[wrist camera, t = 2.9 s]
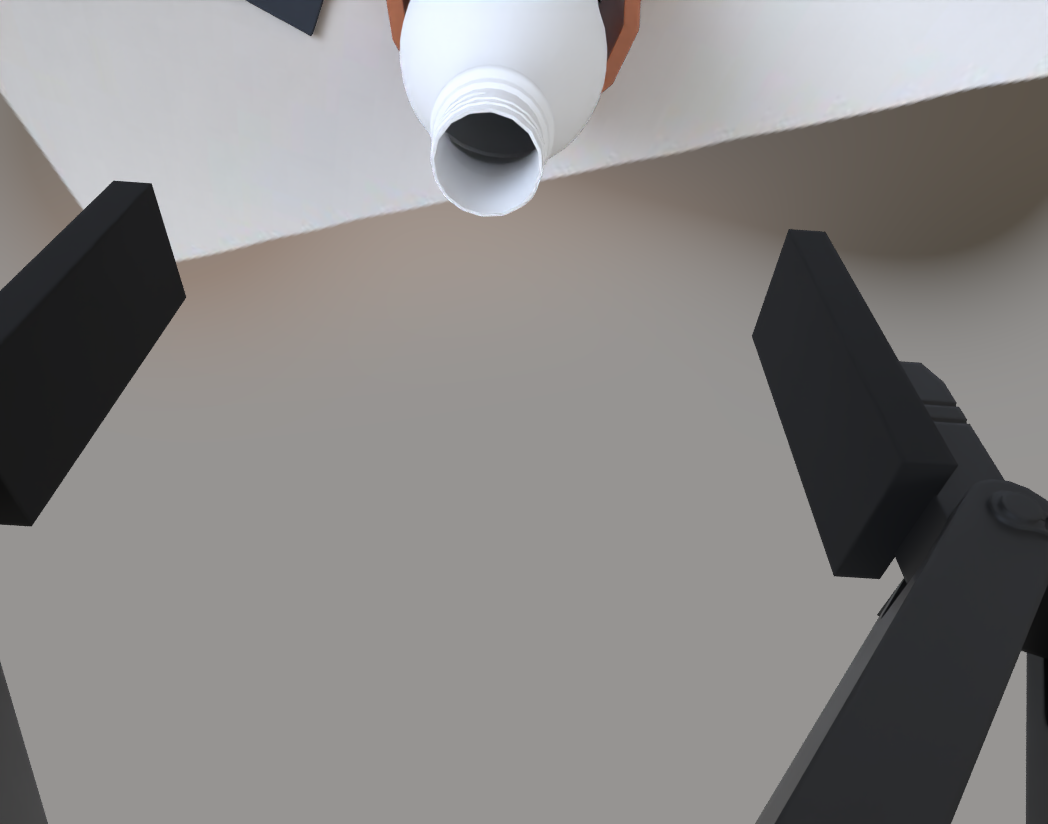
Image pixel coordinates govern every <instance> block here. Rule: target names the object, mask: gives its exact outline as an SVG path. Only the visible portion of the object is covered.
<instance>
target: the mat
mask: <svg viewBox="0 0 1048 824" xmlns="http://www.w3.org/2000/svg"><path fill="white" fill-rule="evenodd" d="M246 1H248V2H250V3H251V4H253V5H255V6H257V7H259V8H261V9H262V10H264V11H266V12H268V13H270V14H272V15H273V16H275V17H277V18H279V19H281V20H283V21H284V22H286V23H288V24H290V25H292V26H294V27H295V28H297V29H299V30H301V31H303V32H305V33H306V34H308V35H310V36H312V34H313V32H314V29H315V26H316V23H317V19H318V16H319V13H320V10H321V7H322V3H323V0H246Z"/></svg>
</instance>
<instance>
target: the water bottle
mask: <svg viewBox="0 0 1048 824" xmlns="http://www.w3.org/2000/svg"><path fill="white" fill-rule="evenodd" d="M400 65H401V72H402V79H403V84H404V87H405V90H406V93H407V97H408V100H409V102H410V104H411V106H412V108H413V110H414V112H415V114H416V116H417V118H418V120H419V121H420V122H421V124H422V125H423V127H424V128H425V129H426V131H427V132H428V133H429V135H430V136H431V141H432V143H431V157H430V163H431V167H432V170H433V175H434V180H435V182H436V183H437V185H438V186H439V188H440V190H441V191H442V193H443V194H444V196H445V198H447V199H448V200H449V201H451V202H452V203H453V204H455V205H456V206H457V207H458V208H460V209H461V210H462V211H466V212H469V213H472V214H475V215H479V216H482V217H487V216H503V215H505V214H508V213H511V212H513V211H514V210H516V209H519V208H521V207H523V206H524V205H525V204H527V203H528V202H529V201H530V200H531V199H532V198H533V196H534V194H535V192H536V190H537V187H538V184H539V182H540V180H541V177H542V173H543V169H544V165H545V164H546V162H547V160H548V159H550V158H551V157H553V156H554V155H556V154H557V153H559V152H560V151H562V150H563V149H565V148H566V147H567V146H568V145H569V144H570V143H571V142H572V141H573V140H574V139H575V138H576V137H577V136H578V135H579V133H580V132H581V131H582V129H583V128H584V127H585V125H586V124H587V123H588V121H589V119H590V117H591V115H592V113H593V111H594V109H595V107H596V105H597V103H598V101H599V98H600V95H601V92H602V88H603V85H604V80H605V74H606V65H607V42H606V34H605V27H604V24H603V21H602V17H601V14H600V11H599V7H598V0H410V2H409V5H408V8H407V11H406V15H405V18H404V21H403V26H402V32H401V37H400Z"/></svg>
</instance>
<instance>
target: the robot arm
mask: <svg viewBox="0 0 1048 824" xmlns="http://www.w3.org/2000/svg"><path fill="white" fill-rule="evenodd" d="M185 298H186V295H185V292H184V288H183V285H182V282H181V279H180V275H179V272H178V269H177V265H176V262H175V259H174V255H173V252H172V249H171V246H170V242H169V239H168V236H167V233H166V229H165V226H164V223H163V219H162V216H161V213H160V210H159V206H158V203H157V200H156V196H155V193H154V190H153V187H152V184H151V183H137V182H123V181H113V182H112V183H111V184H110V185H109V186H108V187H107V188H106V189H105V190H104V191H103V192H102V193H101V194H100V195H99V196H97V197H96V198H95V199H94V200H93V201H92V202H91V203H90V204H89V205H88V206H87V207H86V208H85V209H84V210H83V211H82V212H81V213H80V214H79V215H78V216H77V217H76V218H75V219H74V220H73V221H72V222H71V223H70V224H69V225H68V226H67V227H66V228H65V229H64V230H62V232H60V233H59V234H58V235H57V236H56V237H55V238H54V239H53V240H52V241H51V242H50V243H49V244H48V245H47V246H46V247H45V248H44V249H43V250H42V251H41V252H40V253H39V254H38V255H37V256H36V257H35V258H34V259H33V260H32V261H31V262H29V263H28V264H27V265H26V266H25V267H24V268H23V269H22V270H21V271H20V272H19V273H18V274H17V275H16V276H15V277H14V278H13V279H12V280H11V281H10V282H9V283H8V284H7V285H6V286H5V287H4V288H3V289H2V290H1V291H0V524H2V525H17V526H18V525H19V526H32V525H33V523H34V522H35V520H36V519H37V517H38V516H39V515H40V513H41V512H42V510H43V509H44V507H45V506H46V504H47V503H48V501H49V500H50V498H51V497H52V495H53V494H54V492H55V491H56V489H57V488H58V487H59V485H60V484H61V482H62V481H63V479H64V477H65V476H66V475H67V473H68V472H69V470H70V469H71V467H72V466H73V464H74V463H75V461H76V460H77V458H78V457H79V455H80V454H81V452H82V451H83V450H84V448H85V447H86V445H87V444H88V442H89V441H90V439H91V438H92V436H93V435H94V433H95V432H96V430H97V429H98V427H99V426H100V424H101V423H102V421H103V420H104V418H105V417H106V415H107V414H108V413H109V411H110V409H111V408H112V406H113V405H114V404H115V402H116V401H117V399H118V398H119V396H120V395H121V393H122V392H123V390H124V389H125V387H126V386H127V384H128V383H129V381H130V380H131V378H132V377H133V375H134V374H135V373H136V371H137V370H138V368H139V367H140V365H141V364H142V362H143V361H144V359H145V358H146V356H147V355H148V353H149V352H150V350H151V349H152V347H153V346H154V344H155V343H156V341H157V340H158V338H159V337H160V336H161V334H162V332H163V331H164V330H165V328H166V327H167V325H168V324H169V322H170V321H171V319H172V318H173V316H174V315H175V313H176V311H177V310H178V309H179V307H180V306H181V304H182V303H183V301H184V300H185ZM752 338H753V341H754V344H755V346H756V349H757V352H758V355H759V358H760V361H761V364H762V367H763V370H764V373H765V376H766V379H767V381H768V384H769V387H770V390H771V393H772V396H773V399H774V402H775V405H776V408H777V411H778V414H779V417H780V420H781V423H782V425H783V428H784V431H785V434H786V437H787V440H788V443H789V446H790V449H791V451H792V454H793V458H794V461H795V464H796V466H797V469H798V472H799V475H800V478H801V481H802V484H803V487H804V489H805V493H806V496H807V498H808V501H809V504H810V507H811V510H812V513H813V516H814V519H815V522H816V525H817V528H818V531H819V534H820V537H821V539H822V542H823V545H824V548H825V551H826V554H827V557H828V560H829V563H830V566H831V569H832V572H833V575H834V576H840V577H855V578H856V577H857V578H872V579H880V578H881V576H882V575H883V574H884V572H885V571H886V569H887V568H888V566H889V565H890V563H891V562H892V561H893V559H894V558H895V557H896V560H897V562H898V564H899V567H900V569H901V571H902V574H903V576H904V579H903V580H902V582H901V583H900V584H899V586H898V587H897V588H896V590H895V591H894V592H893V594H892V595H891V597H890V598H889V599H888V601H887V602H886V604H885V605H884V606H883V608H882V609H881V610H880V612H879V613H878V614H877V615H878V616H879V618H878V620H877V622H876V623H875V625H874V626H873V628H872V630H871V631H870V633H869V635H868V637H867V638H866V640H865V641H864V643H863V645H862V647H861V648H860V650H859V651H858V653H857V655H856V656H855V658H854V660H853V662H852V663H851V665H850V667H849V668H848V670H847V671H846V673H845V675H844V677H843V678H842V680H841V682H840V683H839V685H838V686H837V688H836V690H835V692H834V693H833V695H832V697H831V698H830V700H829V702H828V703H827V705H826V707H825V708H824V710H823V712H822V713H821V715H820V717H819V718H818V720H817V722H816V723H815V725H814V726H813V728H812V730H811V731H810V733H809V735H808V736H807V738H806V740H805V742H804V743H803V745H802V747H801V748H800V750H799V752H798V753H797V755H796V756H795V758H794V760H793V762H792V763H791V765H790V767H789V768H788V770H787V771H786V773H785V775H784V776H783V778H782V780H781V782H780V783H779V785H778V787H777V788H776V790H775V791H774V793H773V795H772V796H771V798H770V800H769V801H768V803H767V805H766V806H765V808H764V810H763V812H762V813H761V815H760V816H759V818H758V820H757V822H756V823H755V824H951V822H952V820H953V817H954V815H955V812H956V810H957V807H958V805H959V802H960V800H961V797H962V795H963V792H964V790H965V787H966V785H967V783H968V780H969V778H970V775H971V772H972V770H973V768H974V765H975V763H976V760H977V758H978V755H979V753H980V750H981V748H982V746H983V743H984V741H985V738H986V736H987V733H988V730H989V728H990V726H991V723H992V721H993V718H994V716H995V713H996V711H997V708H998V706H999V704H1000V701H1001V699H1002V696H1003V694H1004V691H1005V689H1006V686H1007V684H1008V681H1009V679H1010V676H1011V674H1012V671H1013V669H1014V666H1015V663H1016V662H1017V659H1018V657H1019V654H1020V652H1021V651H1024V652H1027V722H1026V724H1027V725H1026V731H1027V732H1026V734H1027V735H1026V737H1027V738H1026V741H1027V742H1026V824H1048V501H1047V500H1046V499H1044V498H1042V497H1041V496H1039V495H1038V494H1036V493H1034V492H1033V491H1031V490H1030V489H1028V488H1026V487H1023V486H1020V485H1018V484H1015V483H1013V482H1009V481H1005V480H1004V479H1003V477H1002V475H1001V474H1000V472H999V470H998V469H997V467H996V466H995V464H994V462H993V461H992V459H991V458H990V456H989V454H988V453H987V451H986V449H985V448H984V446H983V445H982V443H981V442H980V440H979V438H978V437H977V435H976V434H975V432H974V430H973V429H972V427H971V426H970V424H967V423H966V421H967V419H966V418H965V416H964V414H963V413H962V411H961V409H960V408H959V407H956V401H955V400H954V398H953V397H952V395H951V393H950V392H949V390H948V389H947V387H946V385H945V384H944V382H943V381H942V380H941V379H939V378H938V377H937V376H936V375H934V374H933V373H932V372H931V371H930V370H929V369H928V368H926V367H925V366H924V365H923V364H922V363H915V362H901V361H899V360H898V359H897V357H896V355H895V353H894V352H893V350H892V348H891V346H890V345H889V343H888V341H887V339H886V338H885V336H884V334H883V332H882V330H881V329H880V327H879V325H878V323H877V322H876V320H875V318H874V317H873V315H872V313H871V311H870V309H869V308H868V306H867V304H866V302H865V301H864V299H863V297H862V295H861V294H860V292H859V290H858V288H857V287H856V285H855V283H854V281H853V280H852V278H851V276H850V274H849V273H848V271H847V269H846V267H845V265H844V264H843V262H842V260H841V259H840V257H839V255H838V253H837V251H836V250H835V248H834V246H833V245H832V243H831V241H830V239H829V237H828V236H827V234H826V232H820V231H807V230H792V229H789V230H788V233H787V236H786V239H785V242H784V245H783V248H782V250H781V253H780V256H779V260H778V262H777V265H776V268H775V271H774V274H773V277H772V280H771V282H770V285H769V289H768V291H767V294H766V297H765V300H764V303H763V306H762V309H761V312H760V315H759V317H758V320H757V323H756V326H755V329H754V332H753V335H752ZM0 824H48V822H47V819H46V816H45V812H44V809H43V805H42V802H41V799H40V795H39V792H38V788H37V785H36V782H35V779H34V775H33V771H32V768H31V765H30V761H29V758H28V754H27V751H26V748H25V745H24V741H23V737H22V734H21V731H20V727H19V724H18V720H17V717H16V714H15V710H14V707H13V703H12V700H11V697H10V693H9V690H8V686H7V683H6V680H5V676H4V673H3V670H2V666H1V663H0Z"/></svg>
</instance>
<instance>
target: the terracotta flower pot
mask: <svg viewBox="0 0 1048 824" xmlns="http://www.w3.org/2000/svg"><path fill="white" fill-rule="evenodd" d="M386 2H387V8H388V14H389V20H390V27H391V33H392V39H393V41H394V43H395V45H396V46H397V48H398V50H399V51H400V37H401V32H402V26H403V21H404V18H405V15H406V11H407V8H408V5H409V2H410V0H386ZM598 7H599V11H600V14H601V17H602V21H603V24H604V27H605V34H606V42H607V65H606V74H605V80H604V85H603V88H602V92H604V91H605V90H606V89H607V88H608V87H610V86H611V85H612V84H613V82H614V80H615V78H616V76H617V74H618V72H619V70H620V68H621V66H622V64H623V62H624V60H625V58H626V56H627V54H628V52H629V50H630V47H631V45H632V43H633V41H634V39H635V37H636V35H637V33H638V31H639V26H640V8H641V0H601V2H600V4H599V6H598ZM602 92H601V93H602Z"/></svg>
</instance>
